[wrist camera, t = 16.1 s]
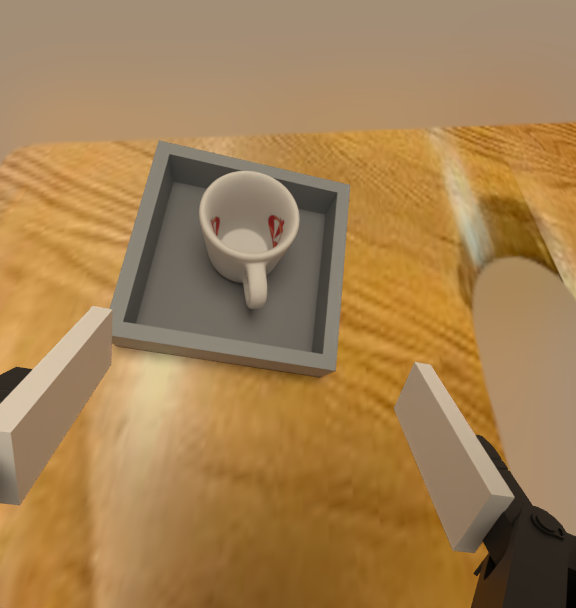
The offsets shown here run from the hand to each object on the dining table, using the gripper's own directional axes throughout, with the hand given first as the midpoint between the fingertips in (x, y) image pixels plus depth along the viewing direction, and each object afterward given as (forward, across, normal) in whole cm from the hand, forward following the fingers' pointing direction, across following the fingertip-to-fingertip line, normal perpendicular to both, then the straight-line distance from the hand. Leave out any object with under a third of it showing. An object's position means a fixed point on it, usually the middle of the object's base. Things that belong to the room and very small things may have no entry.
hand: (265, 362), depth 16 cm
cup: (+21, -2, -4) cm, 22 cm away
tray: (+21, -2, -4) cm, 22 cm away
